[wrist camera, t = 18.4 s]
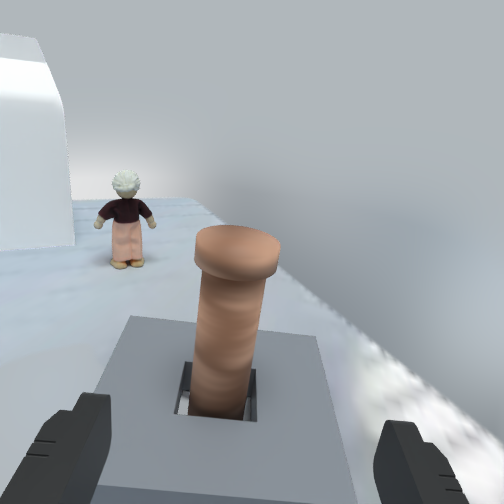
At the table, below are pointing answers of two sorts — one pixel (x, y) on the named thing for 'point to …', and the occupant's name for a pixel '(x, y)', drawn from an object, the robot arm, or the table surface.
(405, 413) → the table surface
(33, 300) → the table surface
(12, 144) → the milk
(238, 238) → the headed peg
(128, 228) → the grandmother figurine
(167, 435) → the socket block
